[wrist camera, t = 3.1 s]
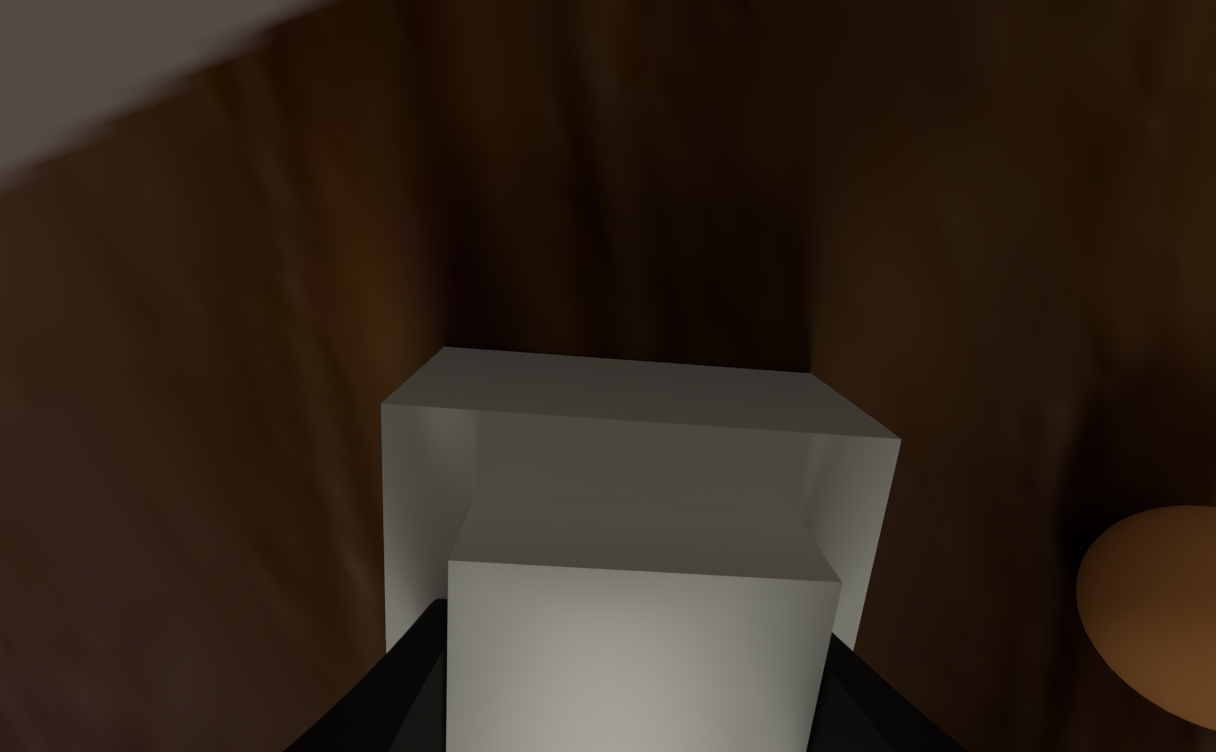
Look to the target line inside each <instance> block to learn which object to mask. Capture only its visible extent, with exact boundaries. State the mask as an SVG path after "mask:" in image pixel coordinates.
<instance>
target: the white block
mask: <svg viewBox="0 0 1216 752" xmlns="http://www.w3.org/2000/svg"><path fill="white" fill-rule="evenodd" d="M381 424H382V471H383V517H384V564H385V611H386V653H387V652H388V651H389V650H390V649H391V648H392V647H393V646H394V645H395V644H396V643H397V641H398V640H399V639H400V638H401V637H402V636H403V635H404V634H405V633H406V631H407V630H408V629H409V628H410V627H411V626H412V625H413V623H414V622H415V621H416V620H417V619H418V618H419V616H420V615H421V614H422V613H423V612H424V611H425V609H426V608H427V607H428V606H429V605H430V603H432V602H433V601H434V600H435V599H437V598H438V599H448V629H447V718H446V752H806V749H807V745H808V740H809V735H810V731H811V726H812V721H813V717H814V712H815V707H816V703H817V698H818V693H819V689H820V684H821V680H822V675H823V670H824V666H825V661H826V656H827V652H828V647H829V642H830V638H831V633H832V632H833V633H834V634H835V635H836V636H837V637H838V638H839V639H840V640H841V641H843V642H844V643H845V644H846V645H847V646H848V647H849V648H850V649H851V650H852V651H853V649H854V645H855V640H856V636H857V631H858V627H859V623H860V618H861V614H862V610H863V605H864V601H865V596H866V592H867V588H868V583H869V579H870V575H871V570H872V566H873V562H874V557H875V553H876V548H877V544H878V540H879V535H880V531H881V527H882V522H883V518H884V513H885V509H886V505H887V500H888V496H889V492H890V487H891V483H892V479H893V474H894V470H895V465H896V461H897V457H898V452H899V448H900V444H901V439H900V438H899V437H898V436H896V435H895V434H894V433H892V432H891V431H889V430H888V429H887V428H885V427H884V426H883V425H881V424H880V423H878V422H877V421H876V420H874V419H873V418H872V417H870V416H869V415H867V414H866V413H865V412H863V411H862V410H861V409H859V408H858V407H856V406H855V405H854V404H852V403H851V402H850V401H848V400H847V399H845V398H844V397H843V396H841V395H840V394H839V393H837V392H836V391H834V390H833V389H832V388H830V387H829V386H828V385H826V384H825V383H823V382H822V381H821V380H819V379H818V378H817V377H815V376H814V375H812V374H811V373H798V372H784V371H771V370H757V369H743V368H729V367H716V366H702V365H688V364H675V363H661V362H647V361H634V360H620V359H606V358H593V357H579V356H565V355H552V354H538V353H524V352H511V351H497V350H483V349H470V348H456V347H443V348H442V349H441V350H440V351H439V352H438V353H437V354H436V355H434V356H433V357H432V358H431V359H430V360H429V361H428V362H427V363H426V364H425V365H423V366H422V367H421V368H420V369H419V370H418V371H417V372H416V373H415V374H413V375H412V376H411V377H410V378H409V379H408V380H407V381H406V382H405V383H403V384H402V385H401V386H400V387H399V388H398V389H397V390H396V391H395V392H394V393H392V394H391V395H390V396H389V397H388V398H387V399H386V400H385V401H384V402H382V403H381Z"/></svg>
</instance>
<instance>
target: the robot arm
mask: <svg viewBox="0 0 1216 752" xmlns="http://www.w3.org/2000/svg"><path fill="white" fill-rule="evenodd" d="M447 629H448V599H438V598H437V599H435V600H434V601H433V602H432V603H430V605H429V606H428V607H427V608H426V609H425V611H424V612H423V613H422V614H421V615H420V616H419V618H418V619H417V620H416V621H415V622H414V623H413V625H412V626H411V627H410V628H409V629H408V630H407V631H406V633H405V634H404V635H403V636H402V637H401V638H400V639H399V640H398V641H397V643H396V644H395V645H394V646H393V647H392V648H391V649H390V650H389V651H388V652H387V653H386V654H385V656H384V657H383V658H382V659H381V660H380V661H379V662H378V663H377V664H376V665H375V666H374V667H373V668H372V669H371V670H370V671H369V672H368V673H367V674H366V675H365V676H364V677H363V678H362V679H361V681H360V682H359V683H358V684H356V685H355V686H354V687H353V688H352V689H351V690H350V691H349V692H348V693H347V694H346V695H345V696H344V697H343V698H342V699H341V700H340V701H339V702H338V703H337V704H336V705H334V706H333V707H332V708H331V709H330V710H329V711H328V712H327V713H326V714H325V715H324V716H323V717H322V718H321V719H320V720H319V721H317V722H316V723H315V724H314V725H313V726H312V727H311V728H310V729H308V730H307V731H306V732H305V733H304V734H303V735H302V736H300V737H299V738H298V739H297V740H296V741H295V742H293V743H292V744H291V745H290V746H289V747H288V748H286V749H285V750H284V751H283V752H446V718H447ZM806 752H968V751H967V750H966V749H964V748H963V747H962V746H961V745H960V744H958V743H957V742H956V741H955V740H953V739H952V738H951V737H950V736H949V735H947V734H946V733H945V732H944V731H942V730H941V729H940V728H939V727H938V726H936V725H935V724H934V723H933V722H932V721H930V720H929V719H928V718H927V717H926V716H925V715H923V714H922V713H921V712H920V711H919V710H918V709H916V708H915V707H914V706H913V705H912V704H911V703H909V702H908V701H907V700H906V699H905V698H904V697H903V696H902V695H900V694H899V693H898V692H897V691H896V690H895V689H894V688H893V687H892V686H890V685H889V684H888V683H887V682H886V681H885V680H884V679H883V678H882V677H880V676H879V675H878V674H877V673H876V672H875V671H874V670H873V669H872V668H871V667H870V666H868V665H867V664H866V663H865V662H864V661H863V660H862V659H861V658H860V657H859V656H858V655H857V654H856V653H854V652H853V651H852V650H851V649H850V648H849V647H848V646H847V645H846V644H845V643H844V642H843V641H841V640H840V639H839V638H838V637H837V636H836V635H835V634H834V633H833V632H832V633H831V638H830V642H829V647H828V652H827V656H826V661H825V666H824V670H823V675H822V680H821V684H820V689H819V693H818V698H817V703H816V707H815V712H814V717H813V721H812V726H811V731H810V735H809V740H808V745H807V749H806Z"/></svg>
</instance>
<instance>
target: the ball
mask: <svg viewBox="0 0 1216 752" xmlns="http://www.w3.org/2000/svg"><path fill="white" fill-rule="evenodd" d="M1076 598H1077V605H1078V611H1079V614H1080V618H1081V621H1082V623H1083V626H1084V628H1085V631H1086V633H1087V635H1088V636H1089V638H1090V640H1091V642H1092V644H1093V645H1094V647H1095V649H1096V650H1097V651H1098V653H1099V654H1100V655H1101V656H1102V658H1103V659H1104V660H1105V661H1106V663H1107V664H1108V665H1109V667H1110V668H1111V669H1112V670H1113V671H1114V672H1115V673H1116V674H1117V675H1118V676H1119V677H1120V678H1121V679H1122V680H1124V681H1125V682H1126V683H1127V684H1128V685H1129V686H1130V687H1132V688H1133V689H1134V690H1136V691H1137V692H1138V693H1139V694H1141V695H1142V696H1144V697H1145V698H1147V699H1148V700H1150V701H1151V702H1153V703H1155V704H1156V705H1158V706H1159V707H1161V708H1163V709H1164V710H1166V711H1168V712H1170V713H1172V714H1174V715H1176V716H1178V717H1180V718H1182V719H1185V720H1187V721H1189V722H1192V723H1194V724H1197V725H1200V726H1203V727H1205V728H1208V729H1212V730H1215V731H1216V507H1211V506H1192V505H1181V506H1169V507H1161V508H1156V509H1151V510H1147V511H1144V512H1141V513H1137V514H1134V515H1132V516H1129V517H1127V518H1124V519H1123V520H1121V521H1119V522H1117V523H1115V524H1114V525H1112V526H1111V527H1110V528H1108V529H1107V530H1106V531H1104V532H1103V533H1102V534H1101V535H1100V536H1099V537H1098V538H1097V539H1096V540H1095V541H1094V542H1093V543H1092V545H1091V546H1090V547H1089V549H1088V550H1087V552H1086V554H1085V555H1084V557H1083V559H1082V562H1081V564H1080V567H1079V570H1078V575H1077V582H1076Z"/></svg>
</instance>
